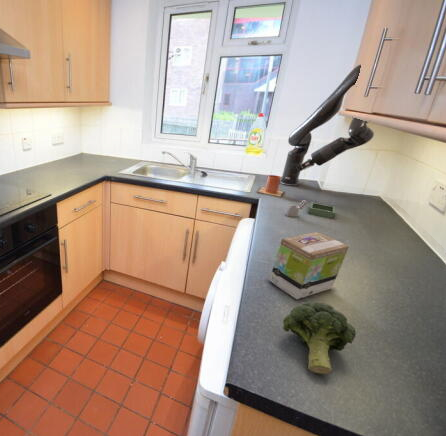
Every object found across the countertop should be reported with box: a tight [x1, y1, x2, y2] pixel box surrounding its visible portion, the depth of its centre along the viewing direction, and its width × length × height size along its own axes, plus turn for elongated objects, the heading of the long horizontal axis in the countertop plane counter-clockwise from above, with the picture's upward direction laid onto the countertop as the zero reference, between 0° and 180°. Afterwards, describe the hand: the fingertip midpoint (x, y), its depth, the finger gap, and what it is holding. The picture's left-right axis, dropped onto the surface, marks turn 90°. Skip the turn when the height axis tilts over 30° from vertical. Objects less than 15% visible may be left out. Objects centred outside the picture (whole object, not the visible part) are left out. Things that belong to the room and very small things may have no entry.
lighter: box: [286, 199, 308, 218], centre depth 138 cm, size 7×2×8 cm, turn 85°
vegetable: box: [282, 301, 357, 375], centre depth 63 cm, size 12×13×15 cm
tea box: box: [269, 231, 350, 300], centre depth 85 cm, size 15×10×15 cm, turn 114°
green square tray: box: [308, 202, 336, 219], centre depth 144 cm, size 10×10×3 cm
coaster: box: [257, 186, 284, 198], centre depth 173 cm, size 12×12×1 cm
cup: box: [264, 174, 282, 193], centre depth 171 cm, size 7×7×9 cm
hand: (294, 172), depth 161 cm, fingers open, 8 cm apart
